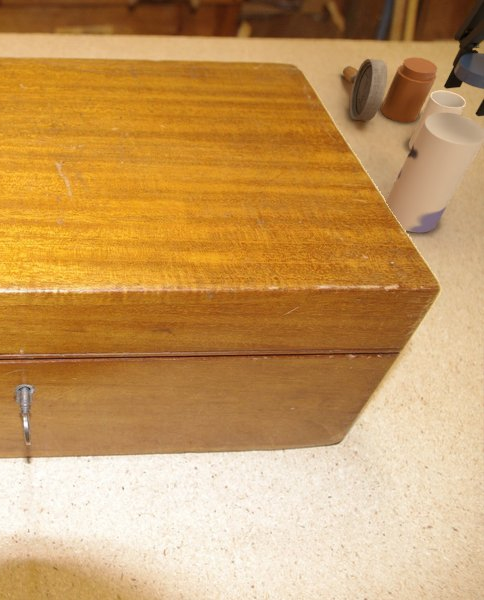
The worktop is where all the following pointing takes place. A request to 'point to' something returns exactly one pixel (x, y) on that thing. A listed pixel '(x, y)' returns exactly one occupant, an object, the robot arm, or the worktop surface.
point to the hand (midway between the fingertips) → (467, 100)
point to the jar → (409, 89)
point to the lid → (471, 69)
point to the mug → (439, 108)
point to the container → (434, 170)
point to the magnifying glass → (366, 88)
